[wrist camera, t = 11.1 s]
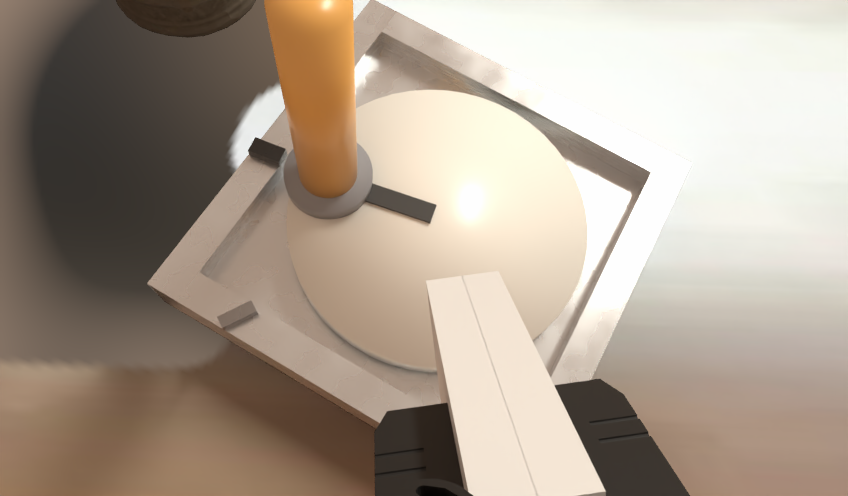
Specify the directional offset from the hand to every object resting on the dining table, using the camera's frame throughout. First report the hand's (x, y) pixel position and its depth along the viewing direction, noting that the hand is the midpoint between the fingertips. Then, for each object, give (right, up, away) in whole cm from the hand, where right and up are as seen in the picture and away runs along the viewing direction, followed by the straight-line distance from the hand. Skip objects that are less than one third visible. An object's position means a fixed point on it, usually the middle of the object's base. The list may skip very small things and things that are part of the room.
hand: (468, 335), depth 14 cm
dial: (0, +3, +27) cm, 27 cm away
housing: (0, +2, +29) cm, 29 cm away
